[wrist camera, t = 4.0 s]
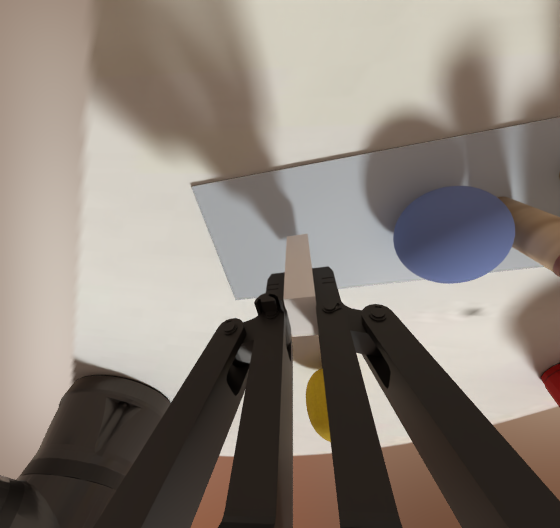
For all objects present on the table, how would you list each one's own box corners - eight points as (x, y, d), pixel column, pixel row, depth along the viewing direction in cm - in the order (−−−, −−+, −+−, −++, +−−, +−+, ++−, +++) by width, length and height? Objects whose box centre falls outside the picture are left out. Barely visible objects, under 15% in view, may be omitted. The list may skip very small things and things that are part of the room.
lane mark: (236, 298, 22) (235, 300, 22) (192, 186, 16) (191, 186, 16) (579, 261, 18) (582, 262, 18) (689, 92, 12) (695, 92, 12)
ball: (509, 265, 15) (415, 242, 19) (549, 172, 12) (424, 170, 16) (475, 319, 12) (374, 279, 17) (513, 221, 9) (375, 203, 13)
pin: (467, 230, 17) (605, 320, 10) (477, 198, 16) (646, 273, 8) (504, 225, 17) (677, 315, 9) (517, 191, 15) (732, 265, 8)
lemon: (295, 367, 28) (296, 445, 21) (326, 346, 26) (338, 427, 19) (326, 383, 30) (336, 460, 23) (359, 365, 27) (380, 446, 21)
